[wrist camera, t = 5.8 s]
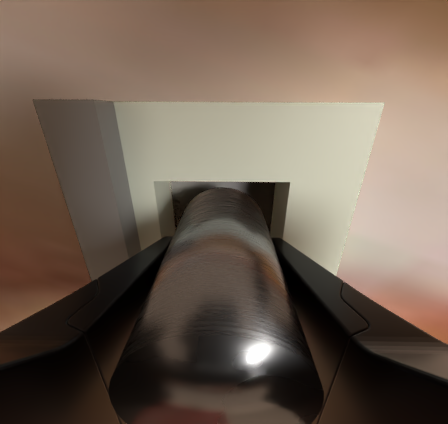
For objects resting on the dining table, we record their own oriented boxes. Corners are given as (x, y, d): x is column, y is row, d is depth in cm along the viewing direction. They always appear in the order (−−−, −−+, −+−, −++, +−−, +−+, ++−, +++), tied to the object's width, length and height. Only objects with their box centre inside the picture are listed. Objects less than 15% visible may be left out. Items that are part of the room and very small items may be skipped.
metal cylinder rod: (261, 261, 11) (304, 453, 5) (184, 260, 11) (129, 450, 5) (268, 187, 10) (348, 336, 3) (178, 187, 10) (82, 332, 3)
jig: (347, 105, 10) (412, 100, 6) (306, 292, 14) (331, 348, 11) (100, 104, 10) (32, 99, 6) (139, 290, 14) (112, 344, 11)
